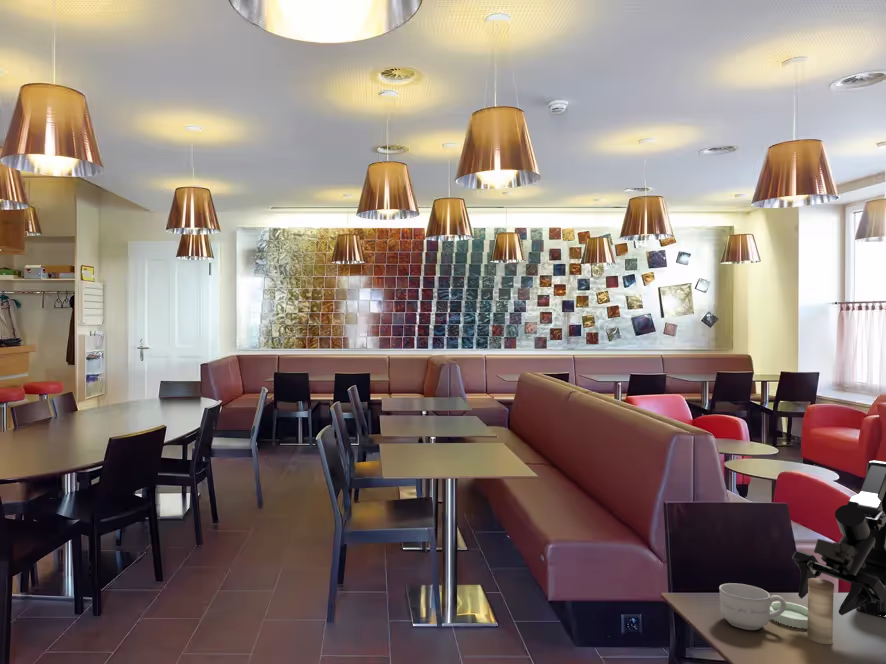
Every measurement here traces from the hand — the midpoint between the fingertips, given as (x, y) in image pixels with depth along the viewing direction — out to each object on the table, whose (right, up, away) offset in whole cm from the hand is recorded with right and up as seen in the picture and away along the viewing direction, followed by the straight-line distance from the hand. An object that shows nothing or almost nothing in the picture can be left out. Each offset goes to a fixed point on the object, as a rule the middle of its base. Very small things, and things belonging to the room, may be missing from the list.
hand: (819, 605), depth 137 cm
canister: (0, -8, 0) cm, 8 cm away
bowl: (-1, -8, +10) cm, 13 cm away
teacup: (-12, -7, +6) cm, 15 cm away
